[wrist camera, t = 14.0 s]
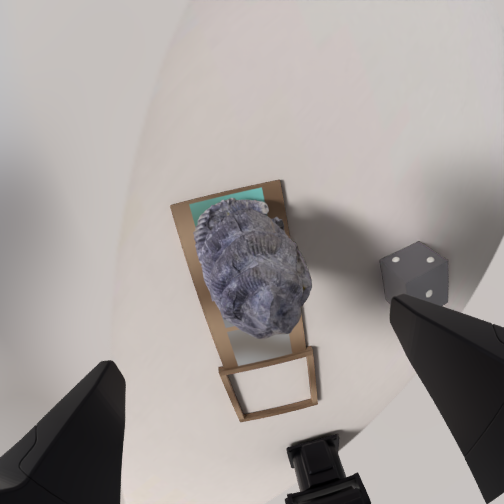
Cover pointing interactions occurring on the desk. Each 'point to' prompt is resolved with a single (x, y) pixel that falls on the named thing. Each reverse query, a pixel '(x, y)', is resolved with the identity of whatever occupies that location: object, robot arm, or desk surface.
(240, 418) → the frame
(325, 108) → the desk surface
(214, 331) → the board
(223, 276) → the seashell
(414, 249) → the die
